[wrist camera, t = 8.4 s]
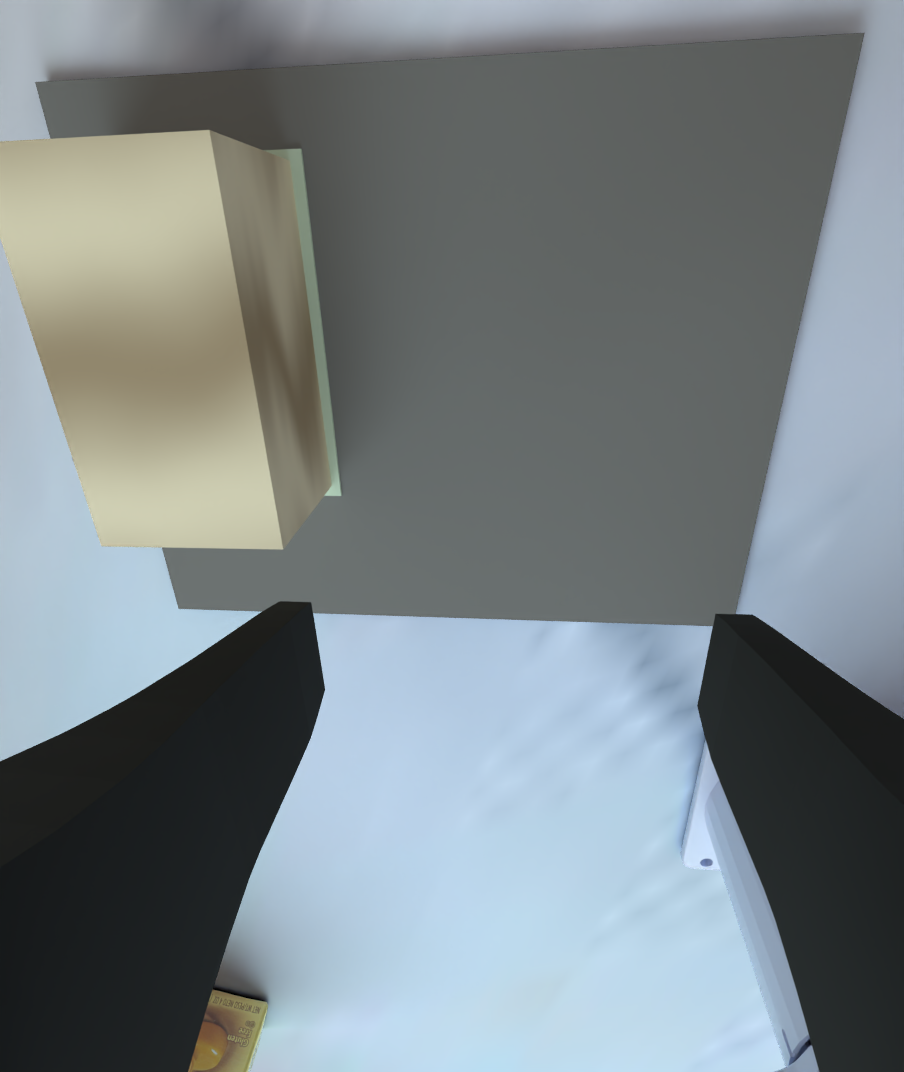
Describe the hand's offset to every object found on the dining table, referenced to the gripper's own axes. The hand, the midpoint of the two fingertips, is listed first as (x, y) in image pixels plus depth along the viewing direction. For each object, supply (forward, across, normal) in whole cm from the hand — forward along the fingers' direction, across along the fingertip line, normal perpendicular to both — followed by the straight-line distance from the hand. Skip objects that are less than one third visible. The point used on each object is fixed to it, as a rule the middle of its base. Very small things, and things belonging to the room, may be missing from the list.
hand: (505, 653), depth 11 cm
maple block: (+9, +8, -4) cm, 13 cm away
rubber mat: (+9, +2, -3) cm, 10 cm away
